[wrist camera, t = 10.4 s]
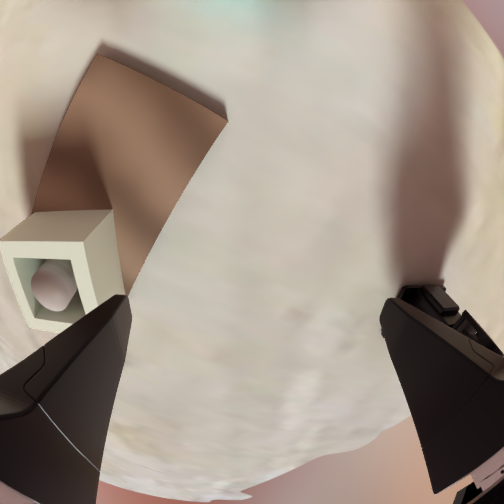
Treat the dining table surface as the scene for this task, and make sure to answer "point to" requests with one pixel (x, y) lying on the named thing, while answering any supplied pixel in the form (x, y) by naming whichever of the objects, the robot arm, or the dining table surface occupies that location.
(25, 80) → the dining table surface
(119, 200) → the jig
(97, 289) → the square hollow sleeve
